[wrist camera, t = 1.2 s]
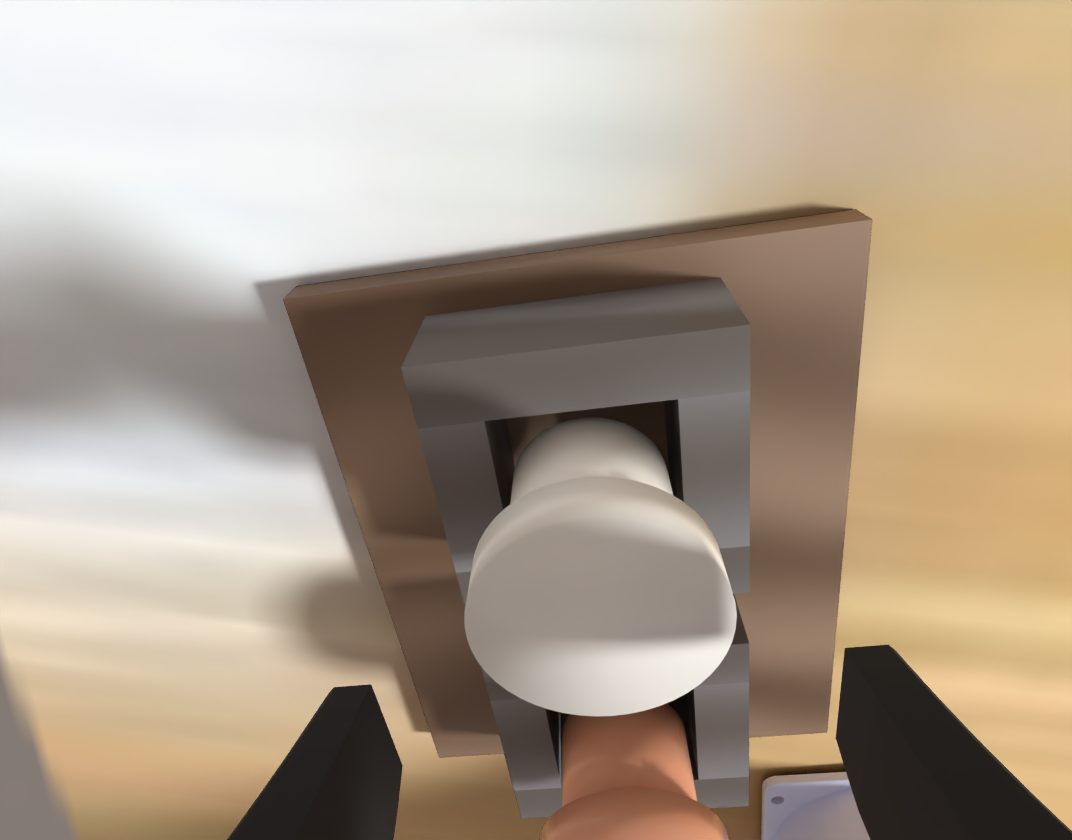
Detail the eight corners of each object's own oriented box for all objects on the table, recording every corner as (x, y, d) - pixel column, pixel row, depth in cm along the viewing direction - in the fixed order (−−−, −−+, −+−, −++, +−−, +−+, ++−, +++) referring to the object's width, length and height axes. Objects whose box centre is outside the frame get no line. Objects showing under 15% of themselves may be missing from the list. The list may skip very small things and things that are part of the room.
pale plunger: (697, 554, 17) (737, 707, 13) (505, 572, 18) (490, 724, 14) (690, 380, 15) (736, 505, 11) (469, 406, 15) (438, 533, 11)
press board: (817, 708, 25) (859, 817, 22) (443, 733, 27) (425, 840, 23) (856, 209, 17) (934, 257, 13) (296, 285, 18) (232, 348, 14)
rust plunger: (707, 778, 21) (739, 942, 18) (553, 788, 22) (551, 949, 18) (703, 671, 19) (738, 833, 15) (530, 684, 20) (523, 844, 16)
